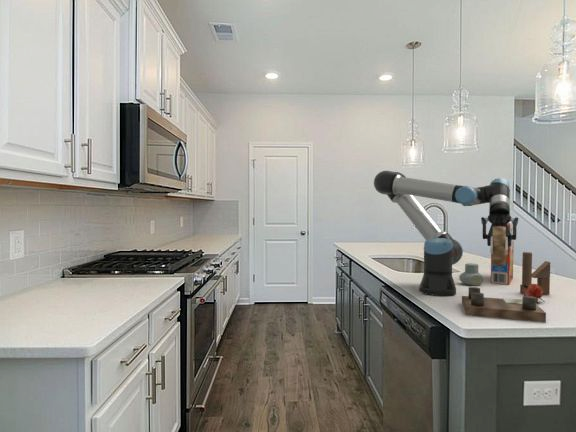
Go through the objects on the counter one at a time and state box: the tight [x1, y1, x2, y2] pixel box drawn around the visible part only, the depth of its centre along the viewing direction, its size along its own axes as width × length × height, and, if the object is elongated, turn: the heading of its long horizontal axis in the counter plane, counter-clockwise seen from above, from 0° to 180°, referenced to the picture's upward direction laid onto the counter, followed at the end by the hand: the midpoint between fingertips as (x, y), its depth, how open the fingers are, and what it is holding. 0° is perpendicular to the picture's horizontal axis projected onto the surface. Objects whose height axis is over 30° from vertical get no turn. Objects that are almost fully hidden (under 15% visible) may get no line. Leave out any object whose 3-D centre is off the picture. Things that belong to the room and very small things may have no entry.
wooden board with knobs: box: [461, 286, 547, 323], centre depth 143 cm, size 24×18×7 cm
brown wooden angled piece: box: [519, 251, 551, 296], centre depth 174 cm, size 4×11×18 cm, turn 87°
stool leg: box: [493, 227, 506, 266], centre depth 155 cm, size 4×4×15 cm
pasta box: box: [490, 221, 515, 286], centre depth 205 cm, size 23×8×30 cm, turn 147°
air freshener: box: [458, 262, 485, 287], centre depth 194 cm, size 11×8×10 cm
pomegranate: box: [522, 283, 546, 303], centre depth 159 cm, size 7×7×10 cm
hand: (499, 251), depth 152 cm, fingers closed on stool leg, 4 cm apart
